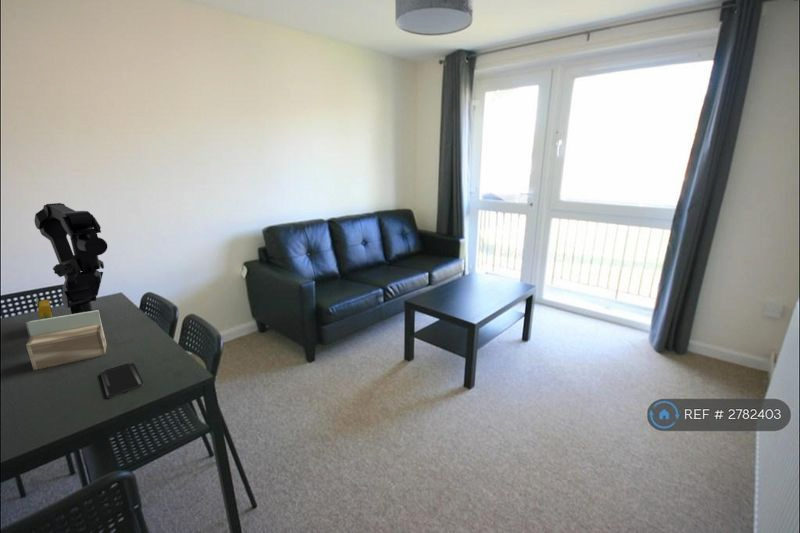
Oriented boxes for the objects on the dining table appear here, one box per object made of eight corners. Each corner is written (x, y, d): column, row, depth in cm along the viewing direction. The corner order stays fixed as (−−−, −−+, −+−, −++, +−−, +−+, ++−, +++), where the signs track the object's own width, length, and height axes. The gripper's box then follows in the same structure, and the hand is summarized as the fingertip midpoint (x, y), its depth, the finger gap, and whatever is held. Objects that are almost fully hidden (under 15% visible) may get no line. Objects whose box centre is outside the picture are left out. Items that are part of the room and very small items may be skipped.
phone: (133, 361, 108) (143, 384, 97) (133, 365, 108) (144, 388, 98) (99, 371, 103) (106, 396, 92) (100, 375, 103) (107, 400, 92)
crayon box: (56, 331, 126) (47, 300, 122) (44, 334, 124) (35, 302, 120) (56, 324, 131) (47, 294, 128) (44, 326, 129) (35, 296, 126)
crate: (38, 361, 108) (30, 336, 106) (106, 346, 117) (101, 323, 115) (33, 370, 104) (26, 345, 101) (105, 354, 112) (99, 331, 110)
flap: (36, 358, 109) (25, 321, 105) (106, 344, 118) (98, 309, 114) (35, 360, 108) (24, 323, 105) (106, 345, 117) (98, 311, 114)
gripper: (56, 247, 122) (67, 291, 127) (46, 260, 107) (59, 309, 112) (99, 243, 128) (108, 285, 133) (94, 255, 114) (105, 302, 118)
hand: (95, 295), depth 124 cm, fingers closed
